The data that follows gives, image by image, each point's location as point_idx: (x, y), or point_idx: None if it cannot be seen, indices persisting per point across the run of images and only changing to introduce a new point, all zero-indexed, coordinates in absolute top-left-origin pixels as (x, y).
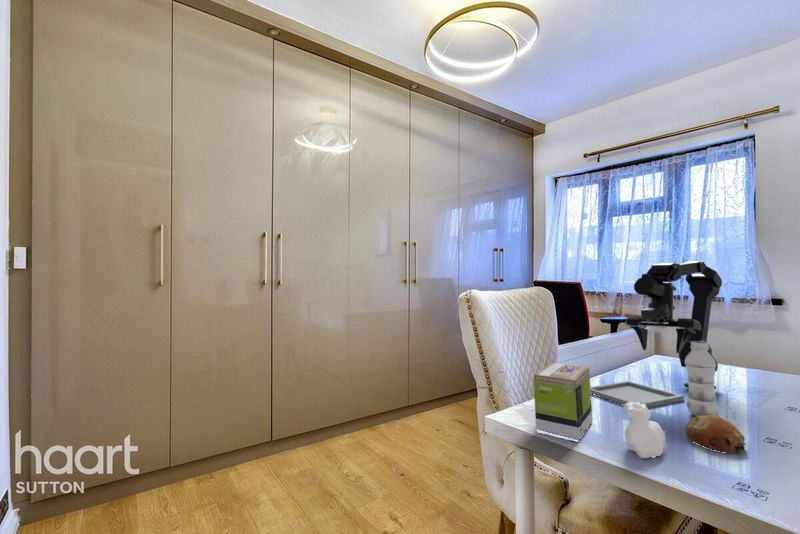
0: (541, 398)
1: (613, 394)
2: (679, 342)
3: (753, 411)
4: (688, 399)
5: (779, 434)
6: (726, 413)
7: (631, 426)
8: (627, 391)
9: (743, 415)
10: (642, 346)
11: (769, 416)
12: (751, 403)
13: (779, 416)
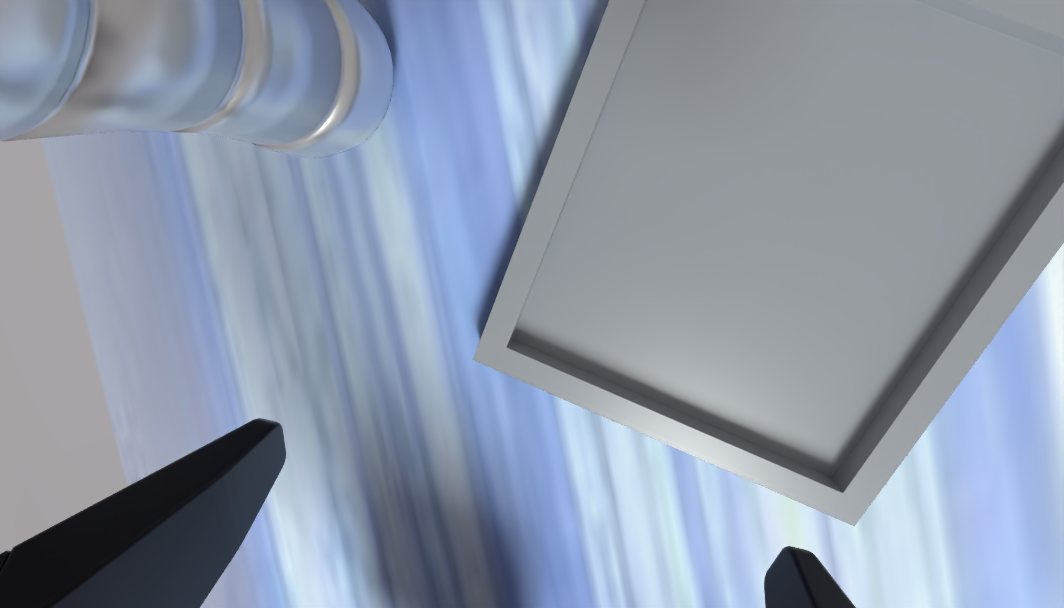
0: None
1: (902, 135)
2: (51, 538)
3: (216, 380)
4: (339, 8)
5: None
6: (281, 254)
7: None
8: (814, 303)
9: (225, 276)
10: (838, 599)
11: (158, 341)
12: None
13: (136, 370)
